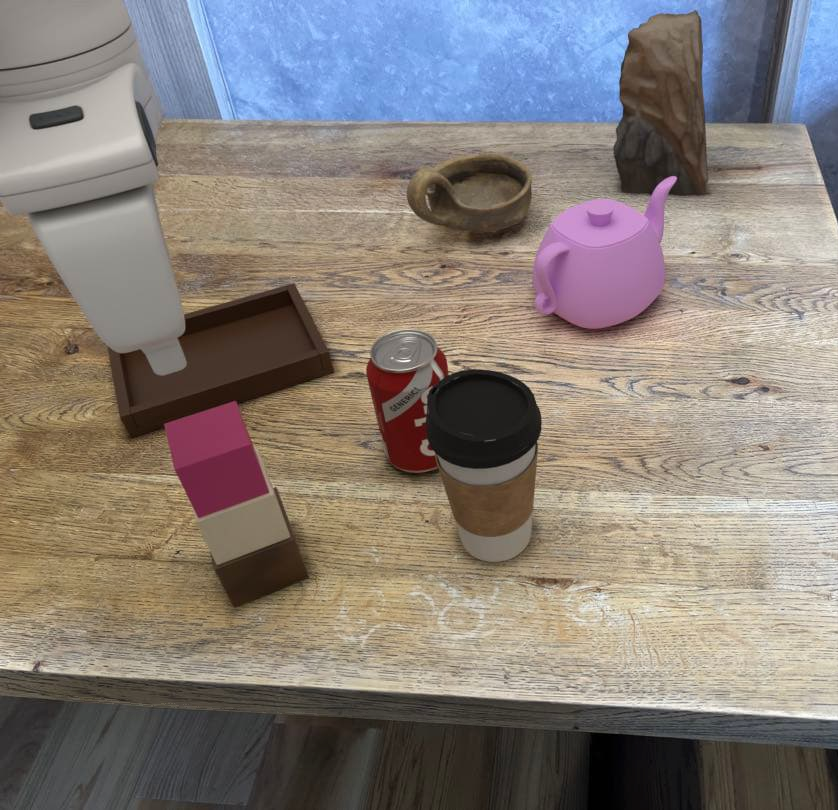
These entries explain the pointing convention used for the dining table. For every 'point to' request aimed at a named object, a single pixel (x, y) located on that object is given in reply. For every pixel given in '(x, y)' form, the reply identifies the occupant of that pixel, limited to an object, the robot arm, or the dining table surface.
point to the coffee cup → (486, 458)
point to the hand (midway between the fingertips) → (159, 322)
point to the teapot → (602, 261)
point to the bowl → (472, 192)
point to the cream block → (244, 525)
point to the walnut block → (263, 569)
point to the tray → (224, 360)
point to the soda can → (405, 394)
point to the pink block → (215, 459)
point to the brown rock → (663, 107)
